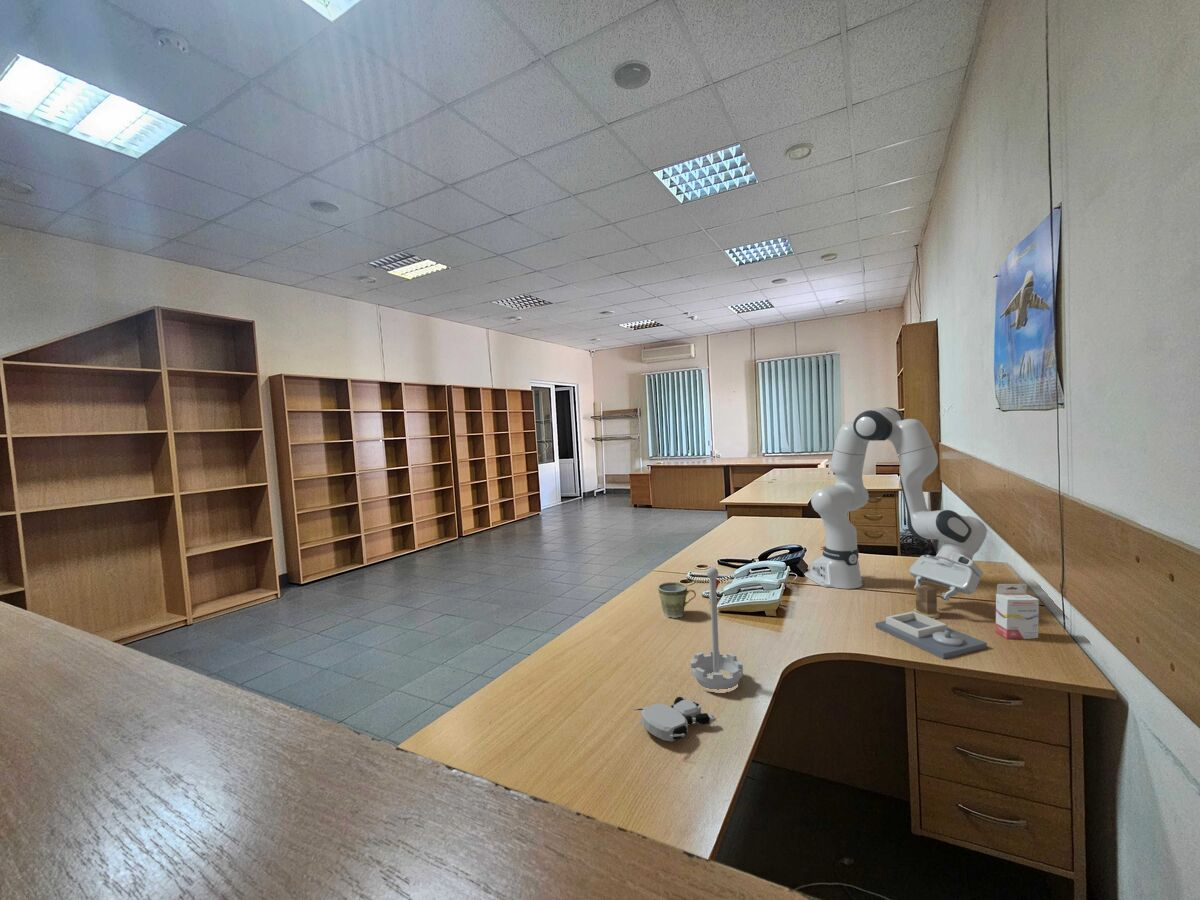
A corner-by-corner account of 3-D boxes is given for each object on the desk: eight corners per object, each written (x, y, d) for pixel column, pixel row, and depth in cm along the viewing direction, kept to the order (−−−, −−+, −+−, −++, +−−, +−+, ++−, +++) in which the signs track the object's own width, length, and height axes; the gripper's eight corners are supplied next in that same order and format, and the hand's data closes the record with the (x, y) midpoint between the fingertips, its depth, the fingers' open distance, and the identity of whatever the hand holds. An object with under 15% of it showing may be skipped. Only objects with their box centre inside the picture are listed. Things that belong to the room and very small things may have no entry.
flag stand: (734, 701, 118) (729, 578, 116) (683, 688, 125) (678, 571, 123) (749, 675, 129) (745, 563, 127) (701, 665, 136) (697, 558, 134)
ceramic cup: (656, 619, 169) (654, 590, 168) (663, 608, 178) (662, 581, 177) (693, 622, 164) (692, 593, 163) (699, 611, 173) (698, 583, 172)
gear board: (875, 627, 153) (875, 614, 153) (915, 618, 158) (914, 605, 158) (943, 659, 132) (943, 643, 132) (986, 648, 137) (986, 632, 137)
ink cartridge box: (1007, 639, 141) (1007, 589, 140) (995, 632, 146) (994, 583, 145) (1039, 639, 140) (1039, 588, 139) (1026, 632, 145) (1026, 582, 144)
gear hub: (908, 612, 163) (908, 586, 162) (924, 609, 165) (924, 583, 164) (928, 620, 156) (927, 592, 156) (944, 617, 158) (944, 589, 158)
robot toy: (681, 707, 118) (631, 726, 110) (681, 688, 118) (631, 706, 110) (719, 732, 108) (668, 755, 100) (719, 711, 108) (668, 733, 100)
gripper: (917, 547, 172) (896, 579, 170) (978, 562, 152) (955, 598, 150) (927, 558, 174) (907, 590, 171) (988, 574, 154) (966, 610, 152)
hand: (930, 594), depth 161 cm, fingers open, 8 cm apart
